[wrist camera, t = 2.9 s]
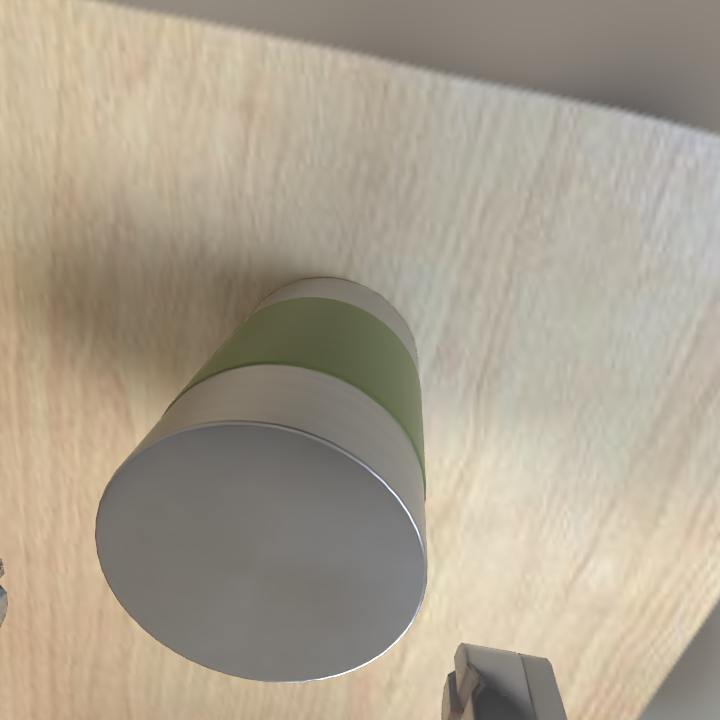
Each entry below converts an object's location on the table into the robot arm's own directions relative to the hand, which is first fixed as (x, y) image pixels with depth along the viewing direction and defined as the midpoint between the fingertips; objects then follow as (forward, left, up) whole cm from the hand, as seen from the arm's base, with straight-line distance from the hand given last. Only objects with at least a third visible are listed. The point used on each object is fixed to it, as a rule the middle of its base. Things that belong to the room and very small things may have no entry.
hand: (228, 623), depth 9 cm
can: (0, 0, -11) cm, 11 cm away
